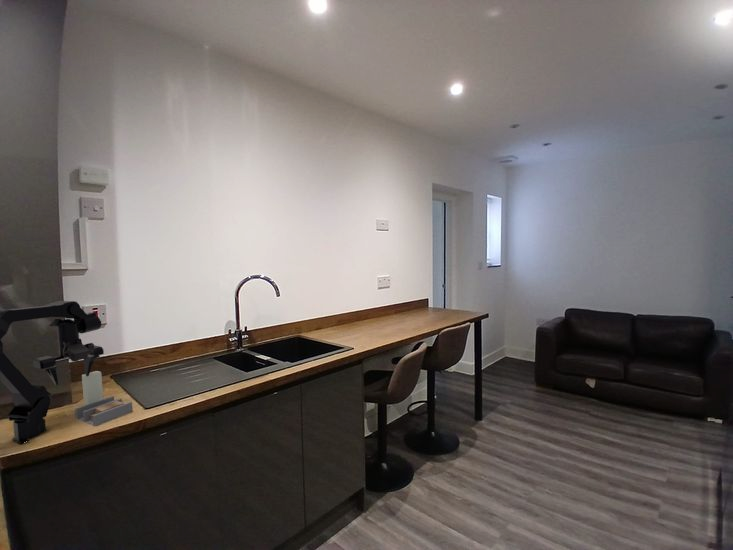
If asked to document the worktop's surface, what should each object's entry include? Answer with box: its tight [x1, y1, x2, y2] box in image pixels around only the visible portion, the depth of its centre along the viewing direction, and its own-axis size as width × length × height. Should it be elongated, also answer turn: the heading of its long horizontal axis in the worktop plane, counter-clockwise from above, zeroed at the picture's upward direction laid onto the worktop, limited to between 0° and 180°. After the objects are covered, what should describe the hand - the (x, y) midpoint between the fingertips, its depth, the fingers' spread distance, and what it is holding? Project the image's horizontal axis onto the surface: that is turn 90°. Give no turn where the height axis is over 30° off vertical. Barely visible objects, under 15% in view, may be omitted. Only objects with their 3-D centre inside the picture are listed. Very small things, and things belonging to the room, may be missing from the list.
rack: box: [74, 395, 134, 427], centre depth 129 cm, size 12×12×4 cm
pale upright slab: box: [81, 370, 104, 406], centre depth 137 cm, size 5×3×13 cm, turn 152°
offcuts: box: [90, 401, 125, 421], centre depth 128 cm, size 9×4×4 cm, turn 152°
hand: (72, 380), depth 129 cm, fingers open, 9 cm apart
